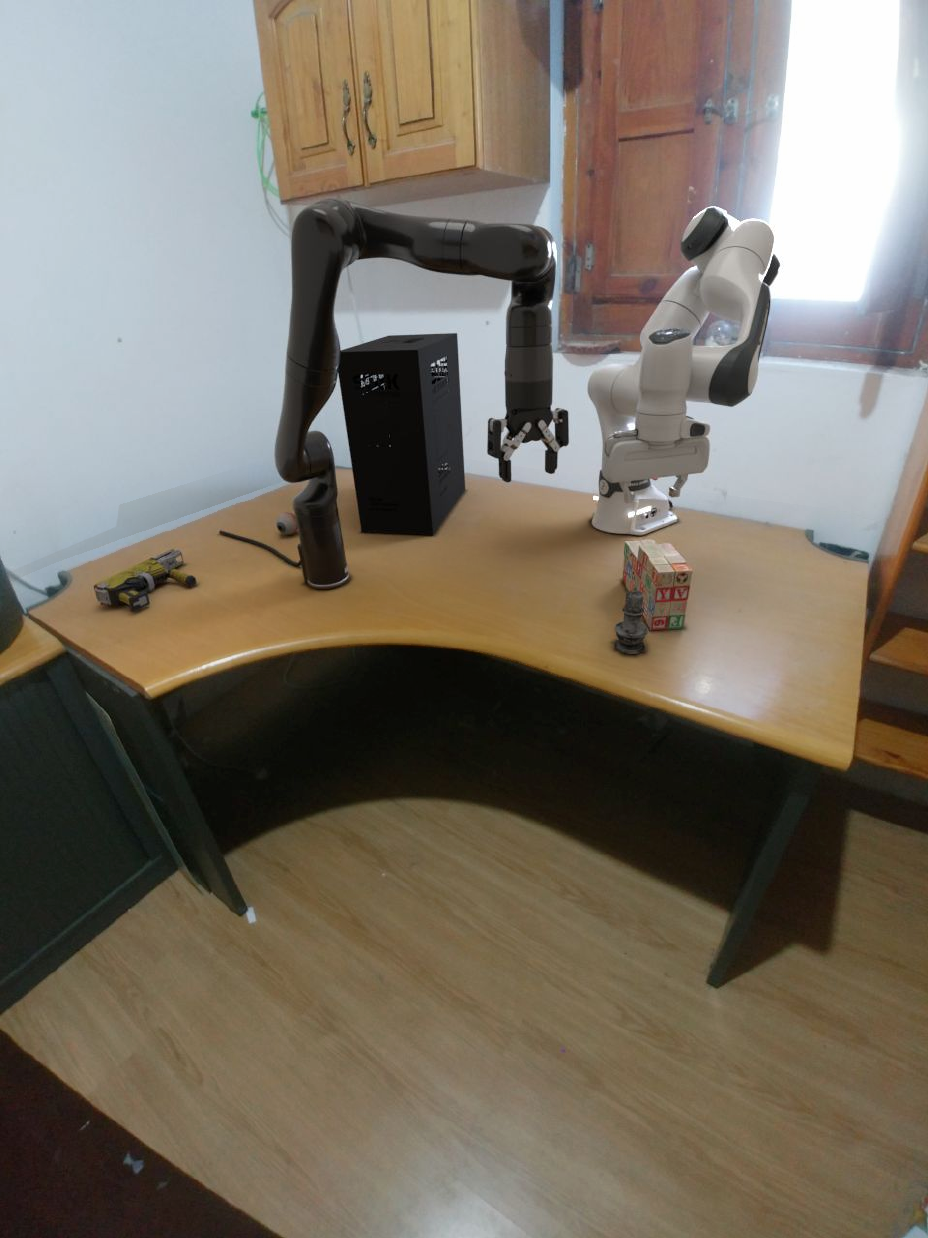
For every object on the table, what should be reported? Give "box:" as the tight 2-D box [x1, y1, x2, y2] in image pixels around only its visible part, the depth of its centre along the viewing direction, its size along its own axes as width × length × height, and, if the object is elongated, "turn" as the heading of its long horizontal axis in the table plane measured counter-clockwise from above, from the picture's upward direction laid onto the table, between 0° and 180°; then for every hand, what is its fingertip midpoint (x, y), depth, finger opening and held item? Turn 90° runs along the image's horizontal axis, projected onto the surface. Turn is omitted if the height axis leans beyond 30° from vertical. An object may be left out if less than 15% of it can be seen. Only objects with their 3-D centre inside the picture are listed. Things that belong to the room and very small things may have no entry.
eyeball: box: [275, 511, 298, 536], centre depth 163 cm, size 6×6×6 cm
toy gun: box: [93, 548, 197, 612], centre depth 139 cm, size 5×24×15 cm
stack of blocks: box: [622, 539, 694, 631], centre depth 119 cm, size 21×6×12 cm, turn 2°
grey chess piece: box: [613, 586, 649, 655], centre depth 105 cm, size 6×6×12 cm
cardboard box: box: [338, 332, 466, 536], centre depth 166 cm, size 38×20×45 cm, turn 167°
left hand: (528, 476), depth 103 cm, fingers open, 8 cm apart
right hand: (651, 499), depth 118 cm, fingers open, 8 cm apart
